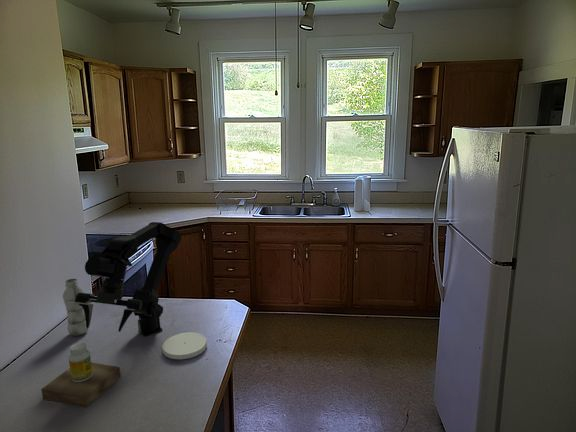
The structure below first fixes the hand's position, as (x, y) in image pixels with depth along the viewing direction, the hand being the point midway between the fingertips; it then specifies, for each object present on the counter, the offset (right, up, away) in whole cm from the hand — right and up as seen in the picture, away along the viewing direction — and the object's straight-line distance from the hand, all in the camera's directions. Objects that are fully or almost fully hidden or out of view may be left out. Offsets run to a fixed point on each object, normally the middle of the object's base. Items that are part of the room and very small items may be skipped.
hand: (103, 329), depth 125 cm
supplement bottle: (-2, -11, -10) cm, 15 cm away
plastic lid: (+23, -9, +9) cm, 26 cm away
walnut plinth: (-1, -13, -9) cm, 17 cm away
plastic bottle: (-18, -7, +21) cm, 28 cm away
